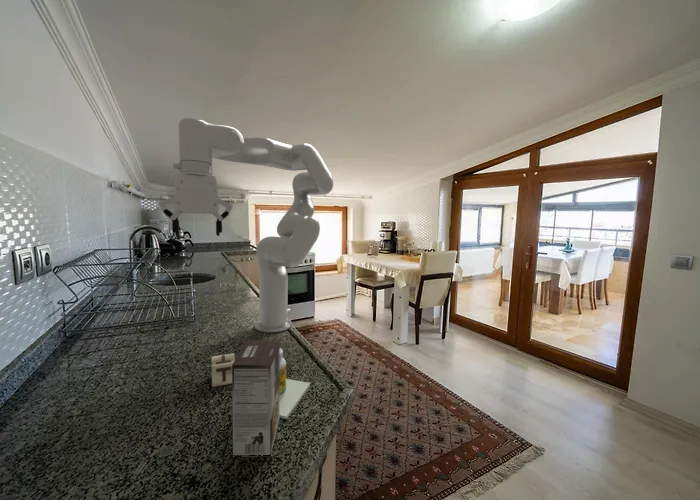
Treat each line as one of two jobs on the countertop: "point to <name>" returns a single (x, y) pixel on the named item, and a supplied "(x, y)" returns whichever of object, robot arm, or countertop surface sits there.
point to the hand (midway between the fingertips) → (198, 235)
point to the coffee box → (256, 397)
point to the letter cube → (222, 369)
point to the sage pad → (291, 397)
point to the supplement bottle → (282, 374)
